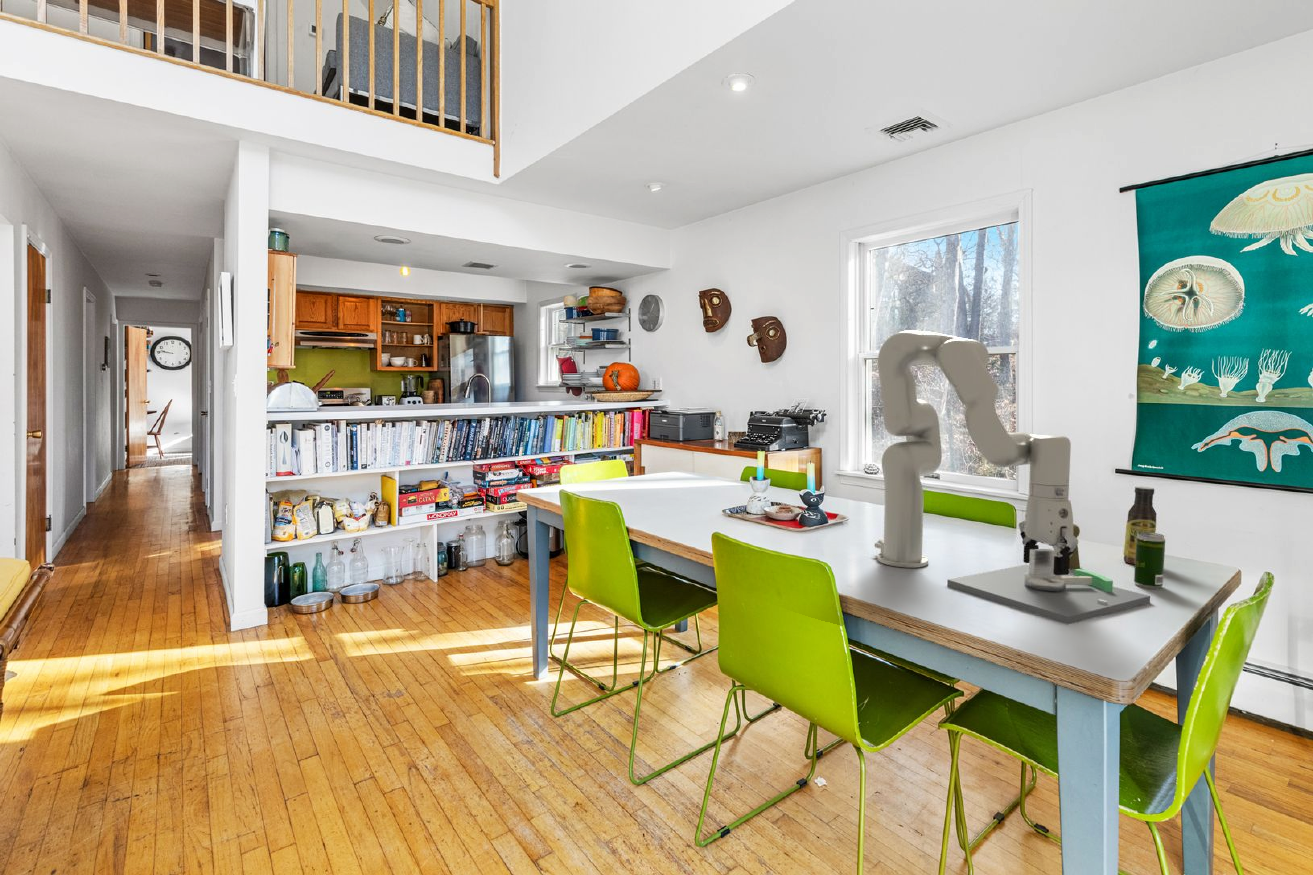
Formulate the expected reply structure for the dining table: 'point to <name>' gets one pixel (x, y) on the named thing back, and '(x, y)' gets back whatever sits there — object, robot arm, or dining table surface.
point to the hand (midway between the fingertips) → (1045, 568)
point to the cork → (1074, 559)
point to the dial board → (1051, 594)
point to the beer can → (1149, 560)
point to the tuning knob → (1049, 573)
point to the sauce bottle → (1139, 520)
